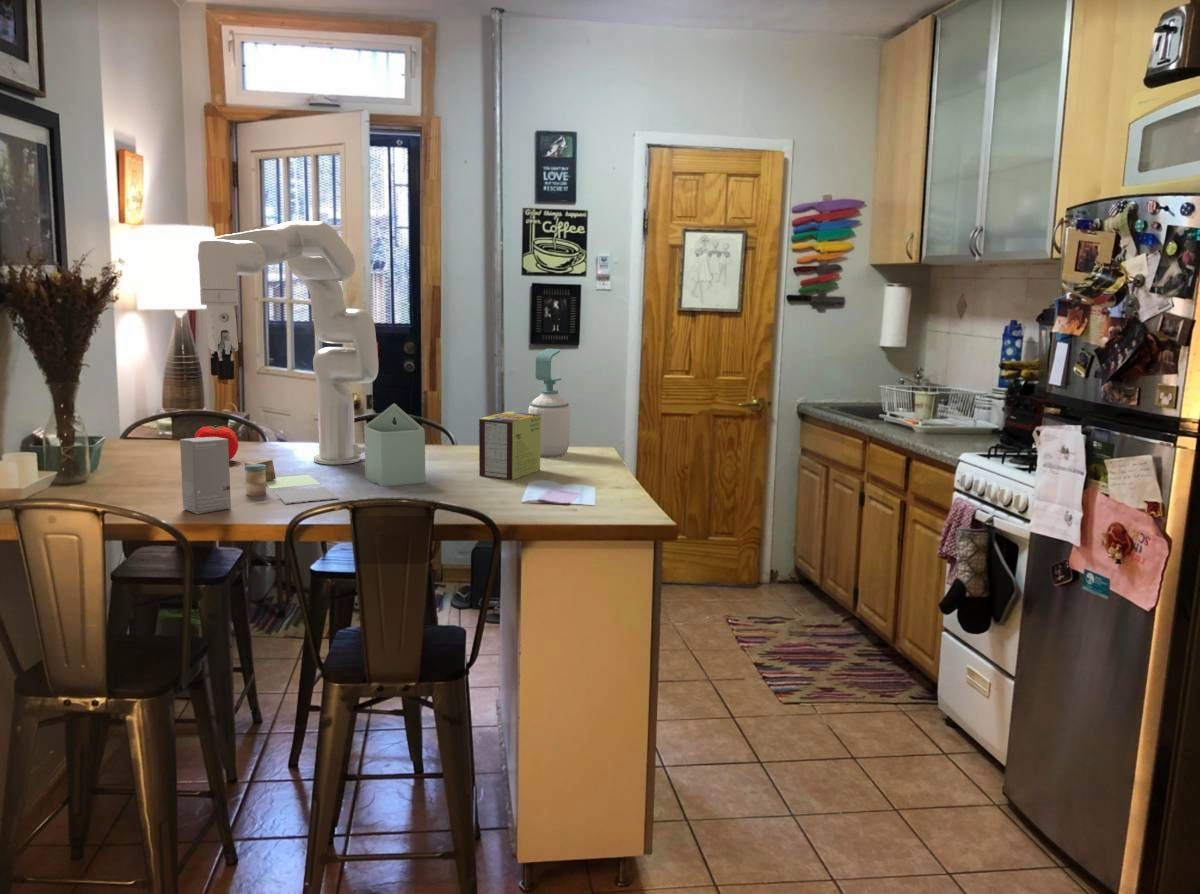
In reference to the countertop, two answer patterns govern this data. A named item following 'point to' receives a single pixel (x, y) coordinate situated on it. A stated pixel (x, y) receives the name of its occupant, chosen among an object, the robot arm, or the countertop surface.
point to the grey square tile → (305, 495)
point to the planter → (394, 449)
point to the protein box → (509, 445)
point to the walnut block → (269, 467)
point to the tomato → (220, 436)
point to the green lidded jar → (255, 479)
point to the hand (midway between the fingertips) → (222, 377)
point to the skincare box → (205, 474)
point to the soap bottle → (551, 409)
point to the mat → (291, 481)
